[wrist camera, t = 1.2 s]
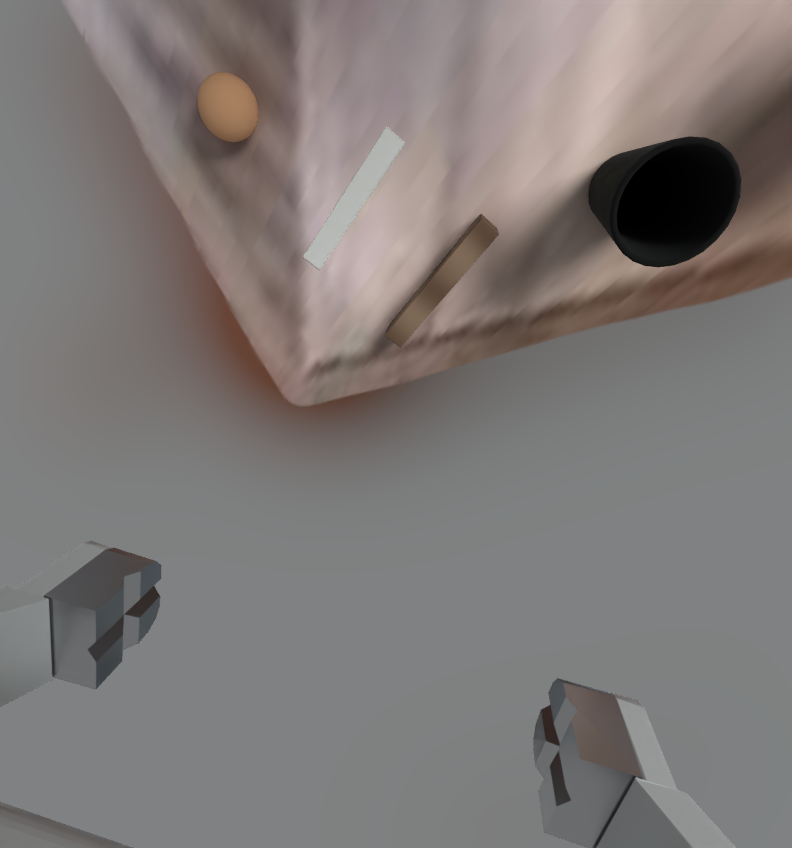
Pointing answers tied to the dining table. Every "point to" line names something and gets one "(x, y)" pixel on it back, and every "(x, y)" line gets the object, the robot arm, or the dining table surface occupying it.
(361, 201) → the line
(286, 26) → the dining table surface
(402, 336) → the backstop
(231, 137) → the ball
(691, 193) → the cup
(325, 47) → the dining table surface
